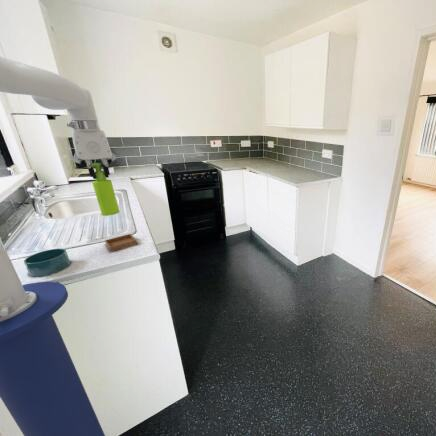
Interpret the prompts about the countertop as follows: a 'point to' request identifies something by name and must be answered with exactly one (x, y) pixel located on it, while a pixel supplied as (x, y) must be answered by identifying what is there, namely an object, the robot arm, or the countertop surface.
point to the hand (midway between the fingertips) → (100, 177)
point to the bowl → (47, 262)
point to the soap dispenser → (104, 192)
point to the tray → (120, 242)
